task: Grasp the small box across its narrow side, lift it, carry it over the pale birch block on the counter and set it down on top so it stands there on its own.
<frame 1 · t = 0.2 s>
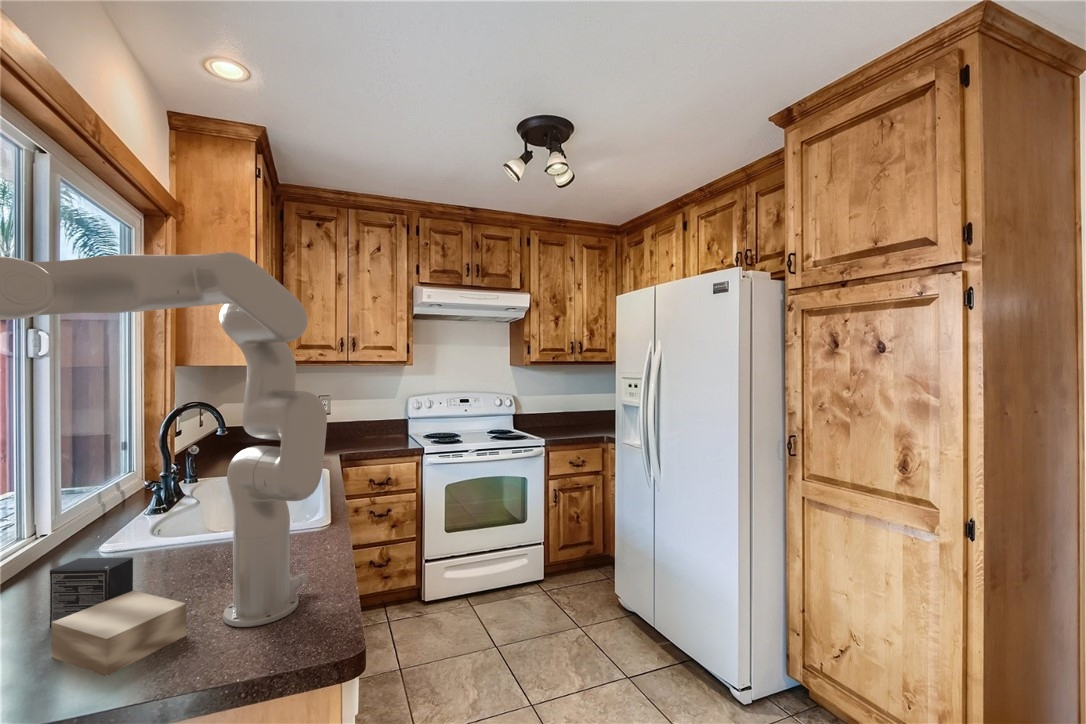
birch block: (121, 647, 85), on the counter
small box: (93, 619, 94), on the counter
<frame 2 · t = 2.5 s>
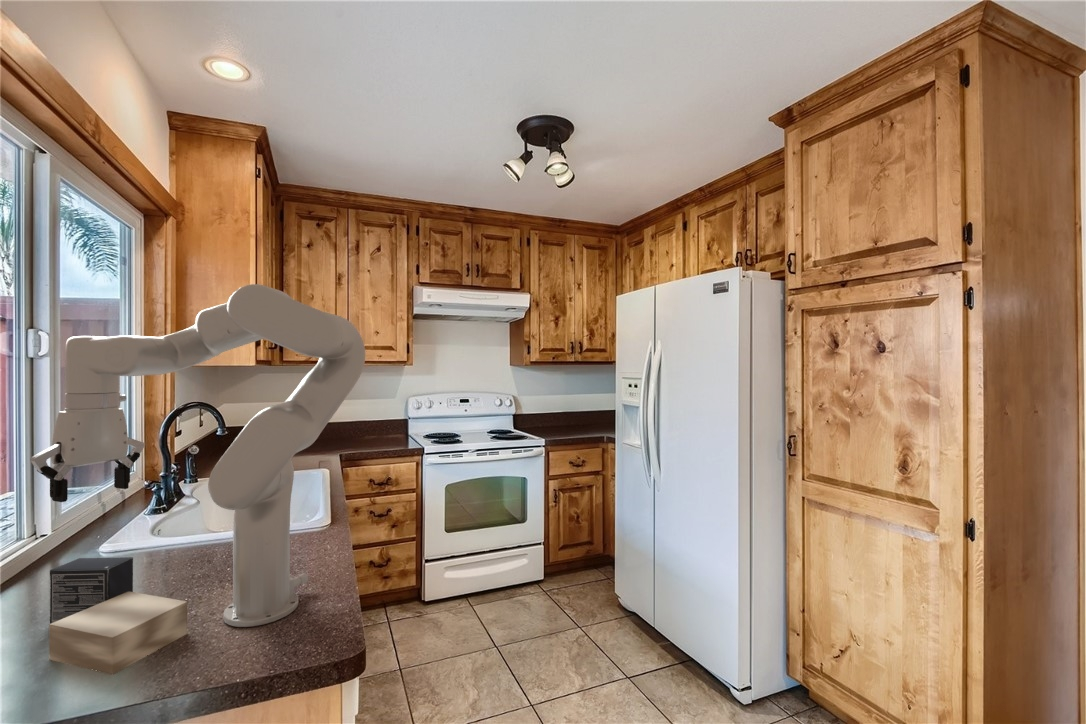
hand: (92, 494, 93), 23 cm above the counter, tool pointing down, fingers open, 9 cm apart
nothing on the counter moved.
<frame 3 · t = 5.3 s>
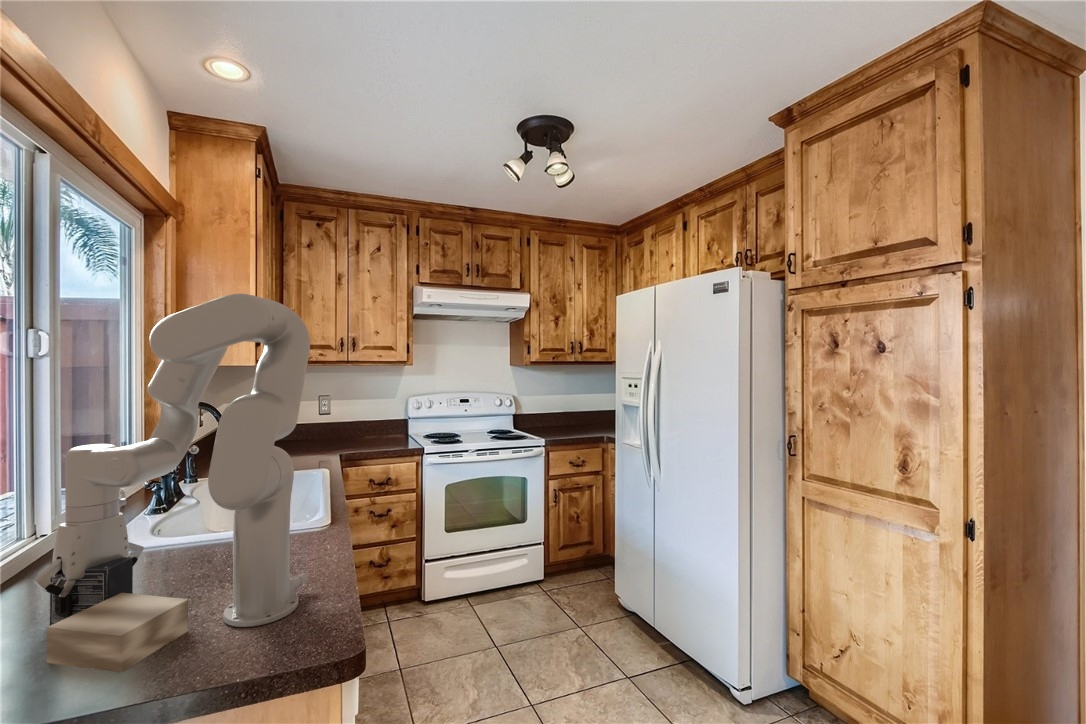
hand: (93, 604, 94), 3 cm above the counter, tool pointing down, fingers closed on small box, 8 cm apart
small box: (93, 619, 94), on the counter, touching gripper
everything else where it was.
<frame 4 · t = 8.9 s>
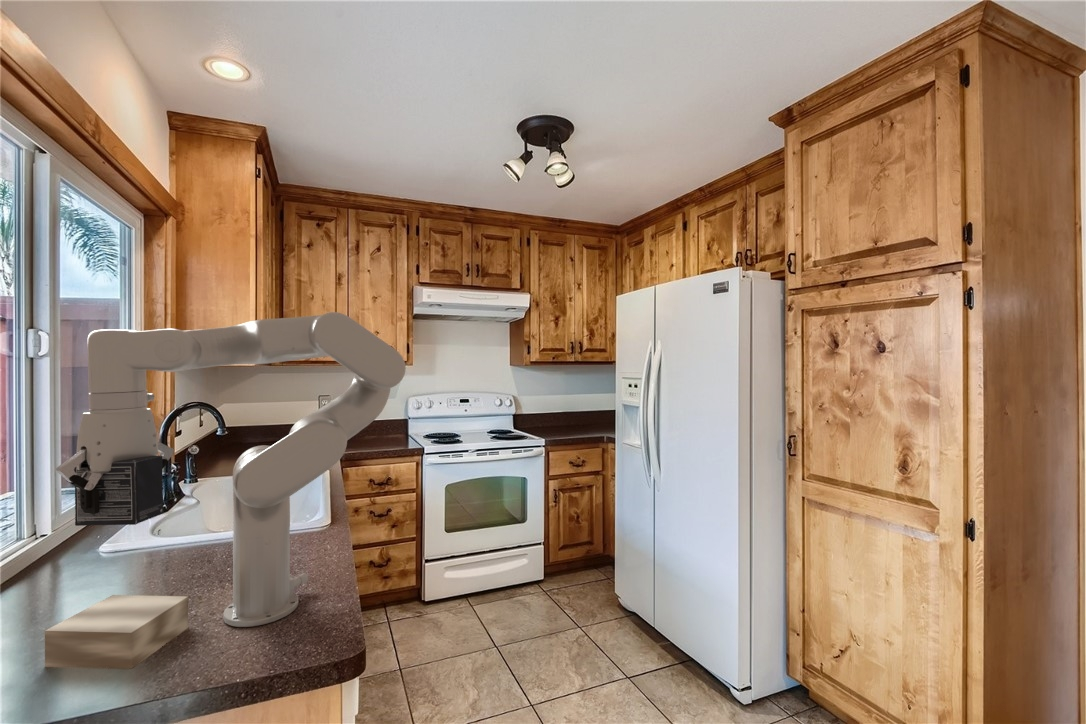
hand: (121, 504, 85), 24 cm above the counter, tool pointing down, fingers closed on small box, 8 cm apart
small box: (121, 520, 85), point 21 cm above the counter, touching gripper
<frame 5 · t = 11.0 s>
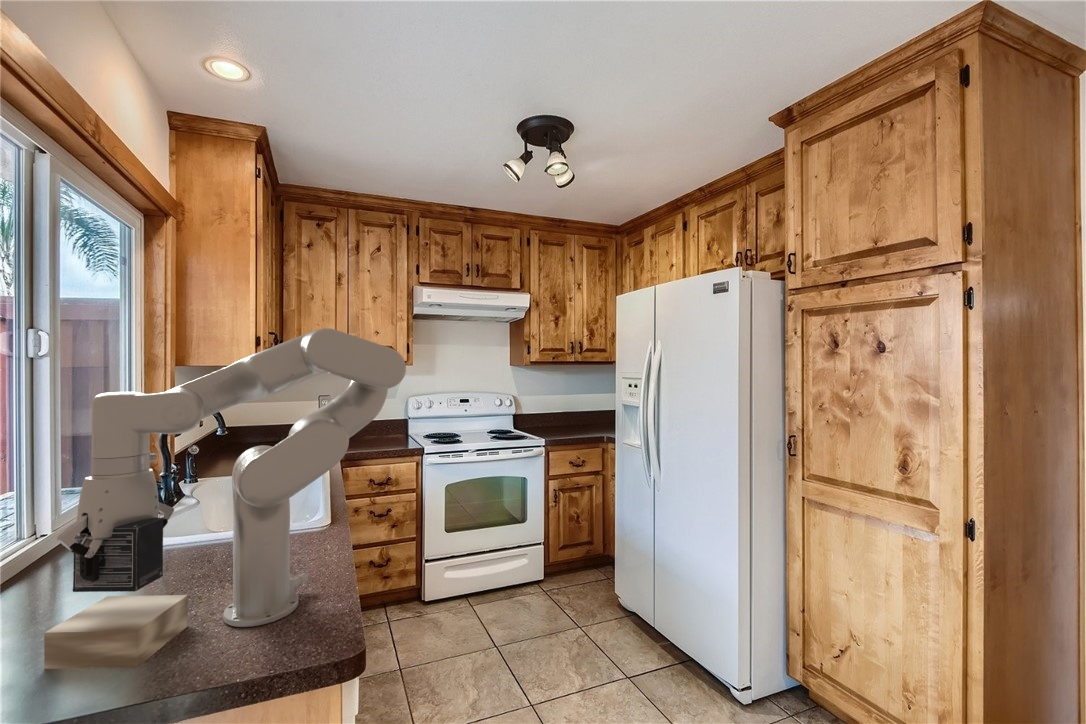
hand: (120, 568, 85), 13 cm above the counter, tool pointing down, fingers closed on small box, 8 cm apart
small box: (120, 585, 85), point 10 cm above the counter, touching gripper
when the fingers open (10 cm above the counter, at t = 12.7 s): small box drops 2 cm, point 5 cm above the counter.
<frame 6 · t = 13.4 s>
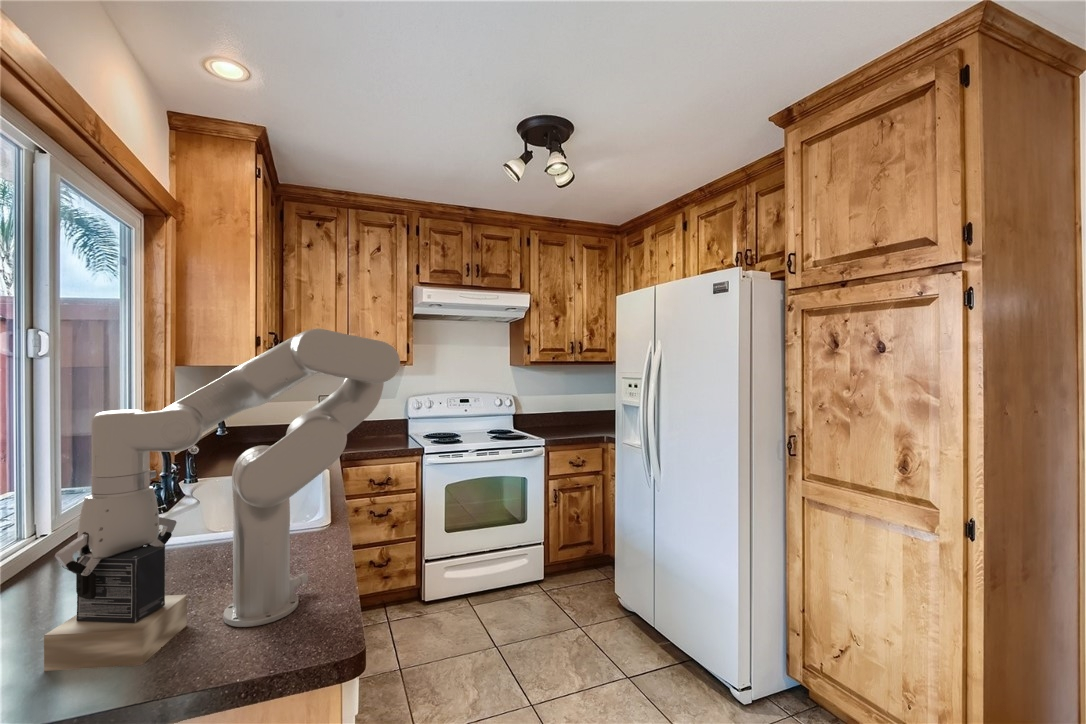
hand: (121, 584, 85), 10 cm above the counter, tool pointing down, fingers open, 9 cm apart
small box: (122, 614, 85), point 5 cm above the counter
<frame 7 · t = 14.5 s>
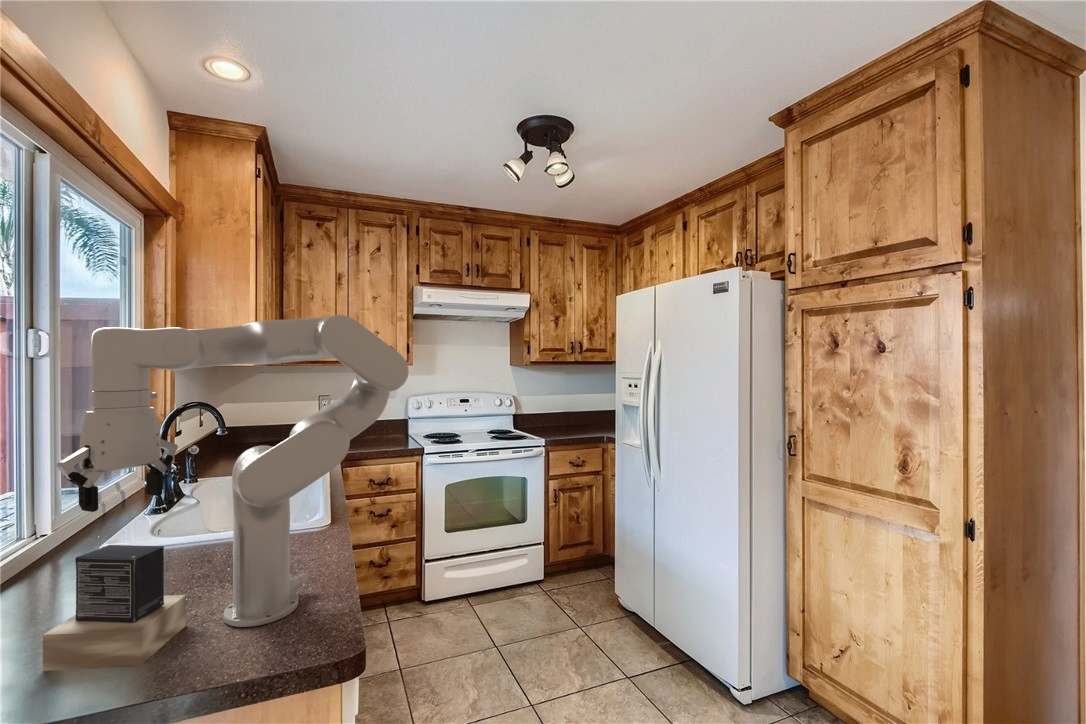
hand: (123, 502, 85), 24 cm above the counter, tool pointing down, fingers open, 9 cm apart
birch block: (120, 648, 85), on the counter, touching small box
small box: (121, 613, 85), point 5 cm above the counter, touching birch block
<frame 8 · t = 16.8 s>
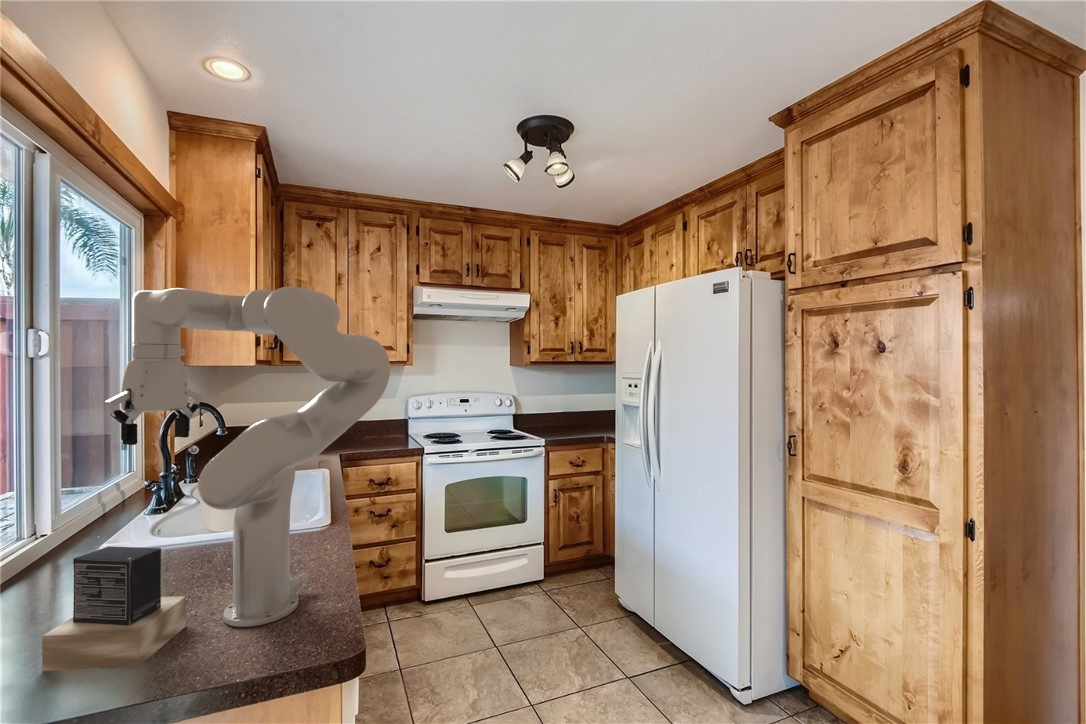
hand: (157, 440, 99), 32 cm above the counter, tool pointing down, fingers open, 9 cm apart
nothing on the counter moved.
at the end: small box 0.1 cm off-centre on the birch block, point 5.8 cm above the birch block's base; small box tilted 0°; the gripper is holding nothing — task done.
